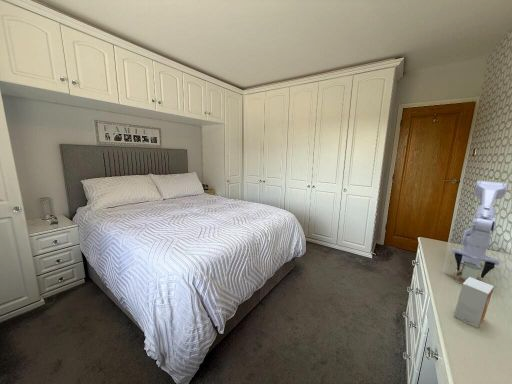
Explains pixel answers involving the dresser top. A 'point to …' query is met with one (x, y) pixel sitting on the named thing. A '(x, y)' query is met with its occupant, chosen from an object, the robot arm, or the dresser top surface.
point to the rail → (458, 273)
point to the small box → (473, 301)
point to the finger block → (469, 271)
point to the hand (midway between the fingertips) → (469, 273)
